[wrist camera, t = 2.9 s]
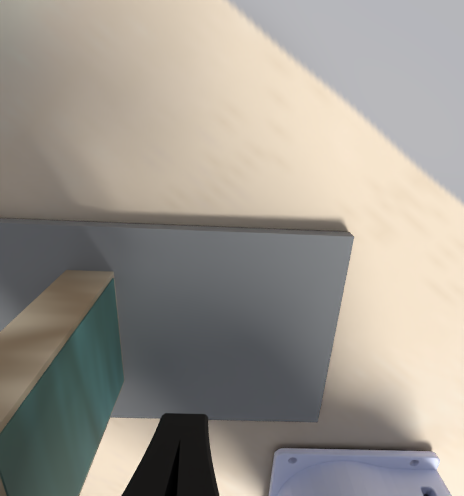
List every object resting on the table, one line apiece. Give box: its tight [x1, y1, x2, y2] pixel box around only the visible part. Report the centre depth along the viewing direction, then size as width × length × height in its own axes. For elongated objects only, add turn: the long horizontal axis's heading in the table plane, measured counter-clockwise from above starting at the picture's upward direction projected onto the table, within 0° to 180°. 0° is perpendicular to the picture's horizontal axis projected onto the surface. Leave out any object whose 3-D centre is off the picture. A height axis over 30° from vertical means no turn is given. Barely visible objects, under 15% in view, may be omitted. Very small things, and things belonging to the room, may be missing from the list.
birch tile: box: [0, 270, 125, 496], centre depth 11 cm, size 2×6×8 cm, turn 178°
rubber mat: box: [0, 218, 354, 422], centre depth 15 cm, size 22×10×1 cm, turn 87°
